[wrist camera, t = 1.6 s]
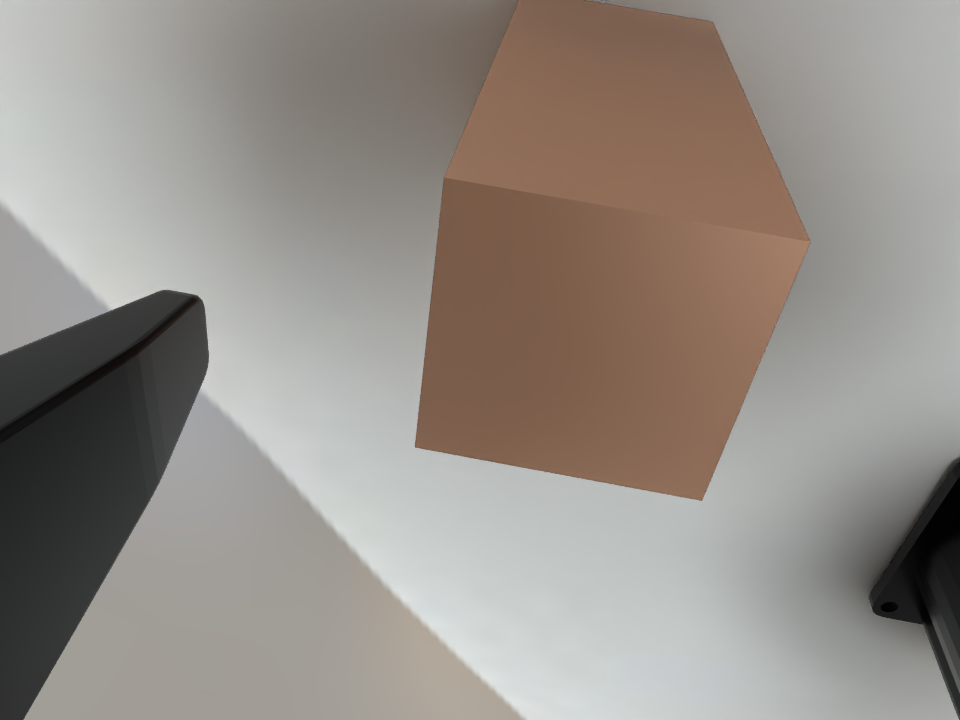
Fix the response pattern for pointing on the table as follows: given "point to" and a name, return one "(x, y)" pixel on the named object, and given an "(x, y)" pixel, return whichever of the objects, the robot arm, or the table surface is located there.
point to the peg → (605, 253)
